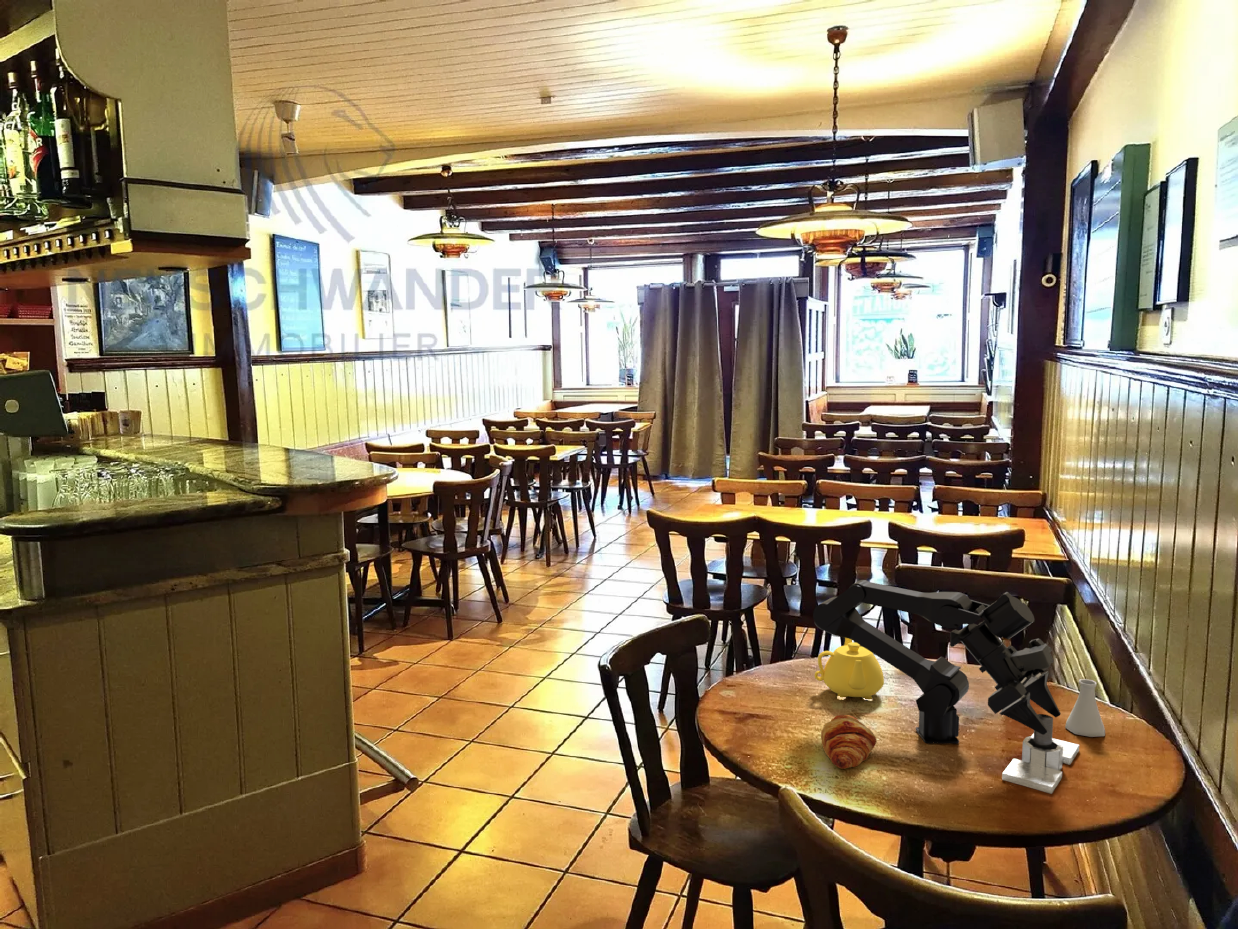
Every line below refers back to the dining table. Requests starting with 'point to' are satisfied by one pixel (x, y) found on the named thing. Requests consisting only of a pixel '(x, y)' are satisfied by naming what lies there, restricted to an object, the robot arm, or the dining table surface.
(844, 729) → the croissant
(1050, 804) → the dining table surface
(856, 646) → the teapot
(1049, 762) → the white piece
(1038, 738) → the hinge pin
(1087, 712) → the flask
